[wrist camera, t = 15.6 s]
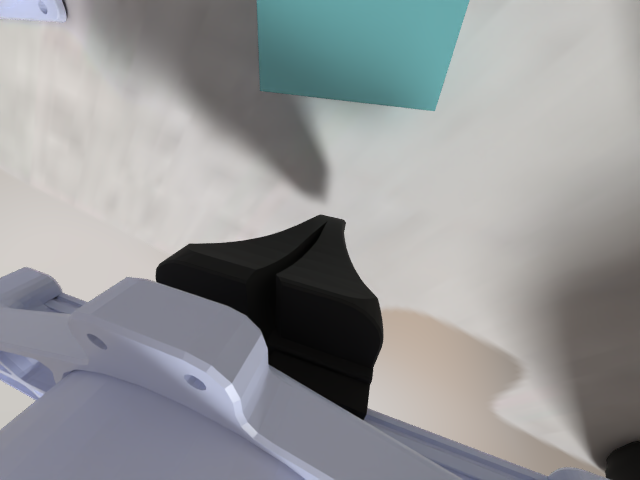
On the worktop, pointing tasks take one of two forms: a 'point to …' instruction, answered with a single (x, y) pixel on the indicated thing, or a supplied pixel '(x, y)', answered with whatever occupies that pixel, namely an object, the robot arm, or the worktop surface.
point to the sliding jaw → (358, 49)
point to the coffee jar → (624, 463)
